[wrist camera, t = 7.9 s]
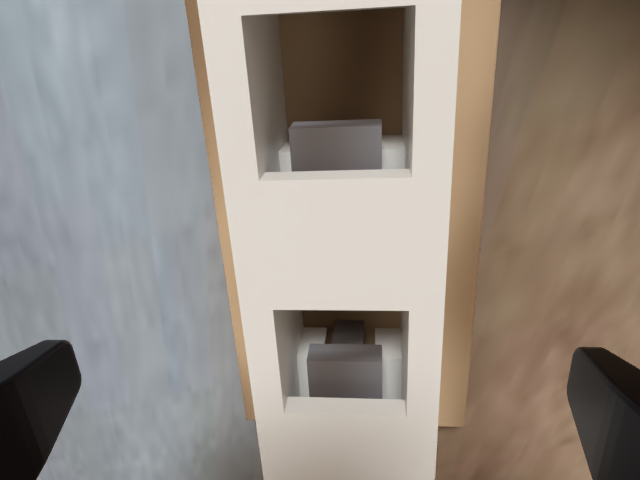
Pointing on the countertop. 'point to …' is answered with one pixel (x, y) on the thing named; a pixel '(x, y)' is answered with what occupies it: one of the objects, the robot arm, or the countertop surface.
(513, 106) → the countertop surface
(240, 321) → the mounting board
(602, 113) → the countertop surface
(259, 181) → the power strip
